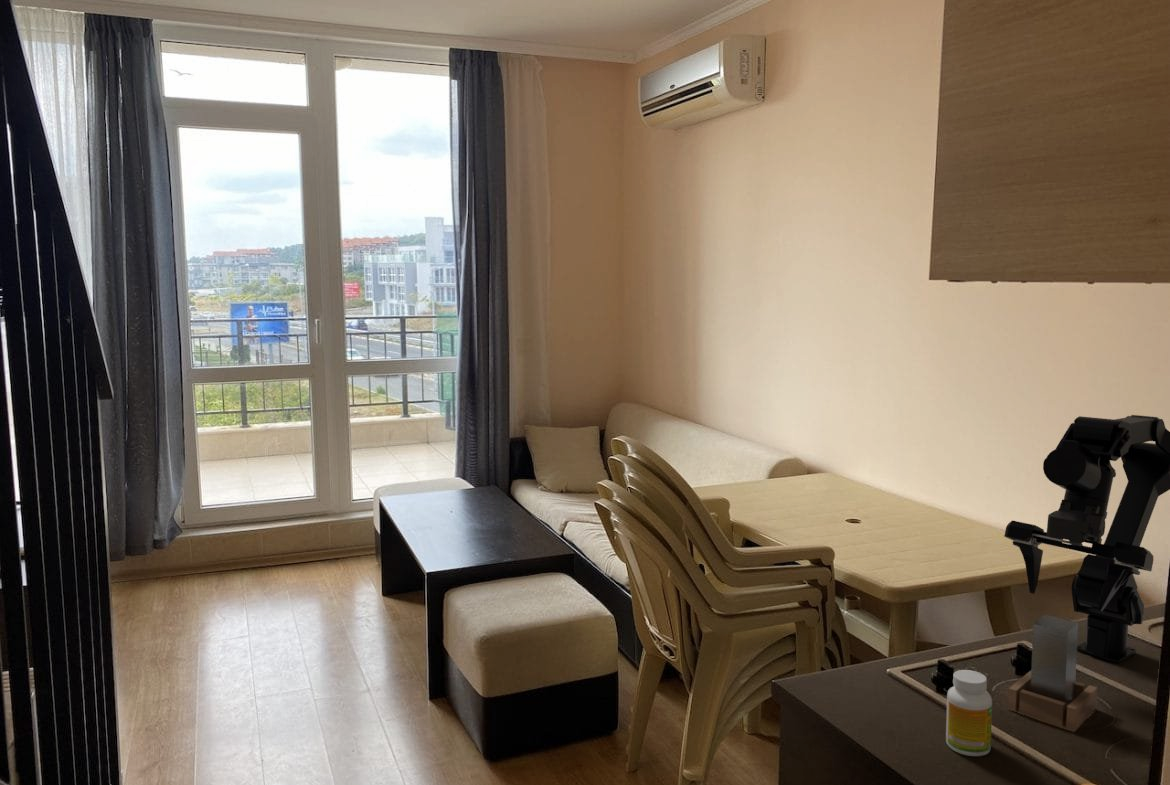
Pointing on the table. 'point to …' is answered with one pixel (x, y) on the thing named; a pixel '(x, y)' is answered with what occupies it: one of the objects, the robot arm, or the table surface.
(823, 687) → the table surface
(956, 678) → the supplement bottle
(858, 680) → the table surface
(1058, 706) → the wooden square frame
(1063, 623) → the steel square block
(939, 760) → the table surface
